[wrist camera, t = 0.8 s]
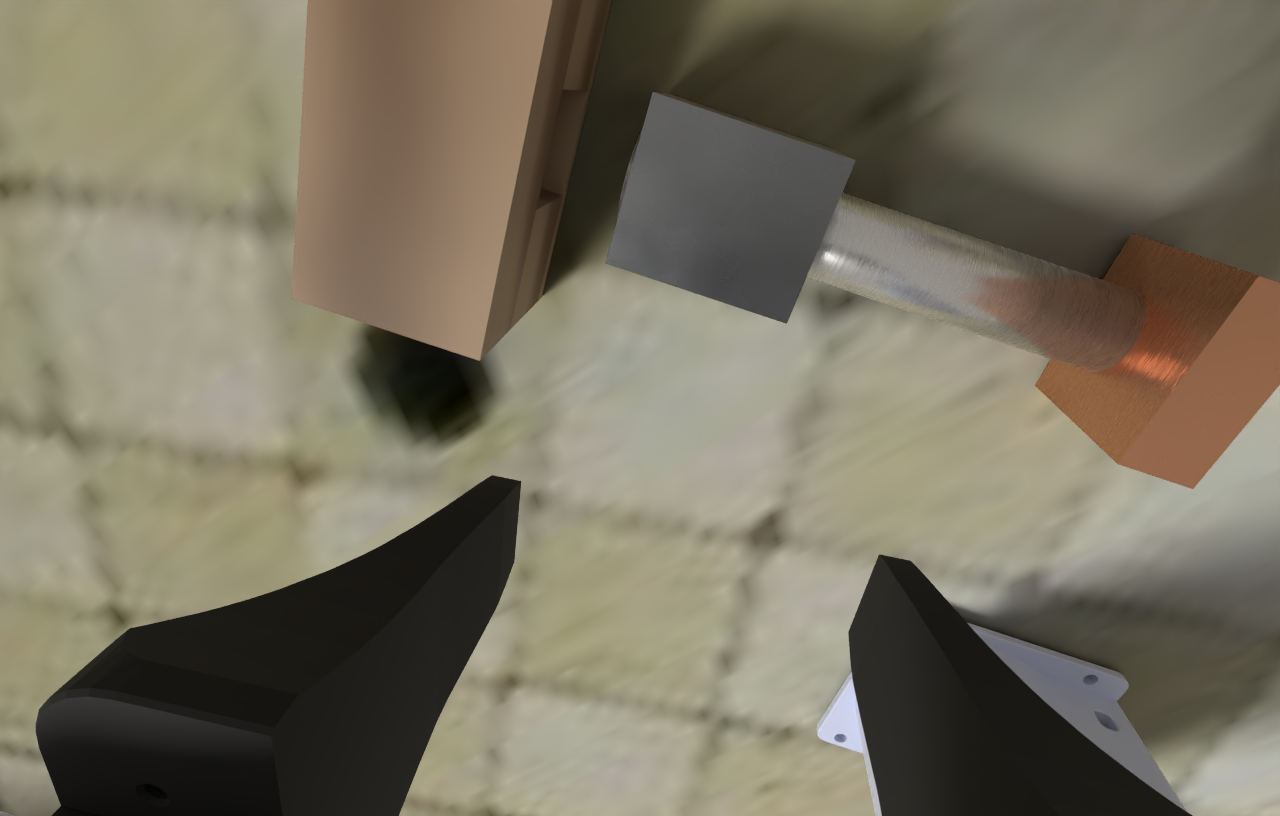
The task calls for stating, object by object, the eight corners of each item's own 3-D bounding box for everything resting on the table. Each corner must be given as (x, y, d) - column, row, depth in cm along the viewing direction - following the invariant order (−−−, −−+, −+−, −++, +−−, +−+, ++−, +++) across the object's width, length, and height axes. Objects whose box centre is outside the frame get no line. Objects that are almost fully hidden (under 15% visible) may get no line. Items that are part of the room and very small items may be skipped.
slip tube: (1198, 255, 19) (1345, 304, 14) (1094, 405, 21) (1192, 488, 16) (665, 75, 18) (643, 68, 14) (616, 246, 21) (584, 286, 16)
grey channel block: (832, 148, 19) (855, 160, 15) (777, 283, 21) (786, 323, 17) (668, 93, 19) (652, 91, 15) (628, 234, 21) (605, 263, 17)
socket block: (623, -48, 18) (575, -113, 12) (541, 296, 22) (479, 360, 17) (446, -108, 18) (319, -200, 12) (400, 250, 22) (291, 298, 17)
